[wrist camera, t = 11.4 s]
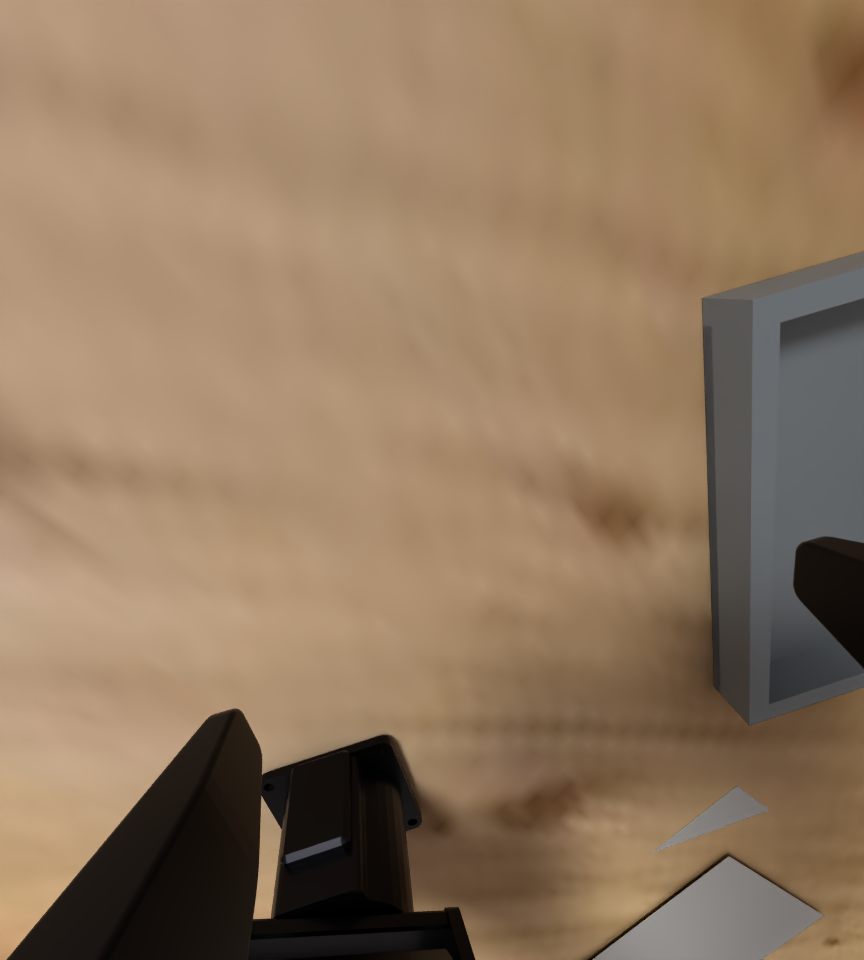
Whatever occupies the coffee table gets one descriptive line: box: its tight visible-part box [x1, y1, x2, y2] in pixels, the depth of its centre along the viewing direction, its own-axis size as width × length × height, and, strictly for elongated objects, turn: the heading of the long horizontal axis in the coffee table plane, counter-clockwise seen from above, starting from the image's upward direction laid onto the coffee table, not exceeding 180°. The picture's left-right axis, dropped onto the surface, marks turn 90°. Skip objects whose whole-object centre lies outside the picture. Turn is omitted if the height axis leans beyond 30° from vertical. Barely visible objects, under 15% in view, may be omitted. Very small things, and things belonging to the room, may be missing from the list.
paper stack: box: [592, 786, 824, 960], centre depth 33 cm, size 23×25×1 cm
